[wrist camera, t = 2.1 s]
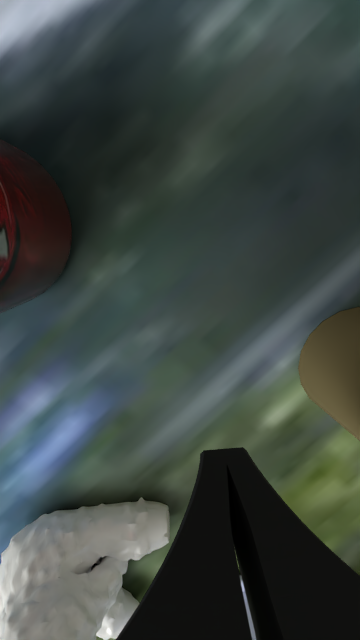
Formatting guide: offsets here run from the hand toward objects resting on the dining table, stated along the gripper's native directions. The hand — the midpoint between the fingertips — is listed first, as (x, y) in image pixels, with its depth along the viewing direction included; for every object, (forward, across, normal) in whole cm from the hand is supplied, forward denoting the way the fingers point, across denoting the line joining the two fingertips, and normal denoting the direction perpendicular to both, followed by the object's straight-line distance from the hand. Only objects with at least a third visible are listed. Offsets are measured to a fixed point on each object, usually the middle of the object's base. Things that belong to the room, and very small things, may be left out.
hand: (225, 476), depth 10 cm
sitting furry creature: (+8, +8, +10) cm, 15 cm away
